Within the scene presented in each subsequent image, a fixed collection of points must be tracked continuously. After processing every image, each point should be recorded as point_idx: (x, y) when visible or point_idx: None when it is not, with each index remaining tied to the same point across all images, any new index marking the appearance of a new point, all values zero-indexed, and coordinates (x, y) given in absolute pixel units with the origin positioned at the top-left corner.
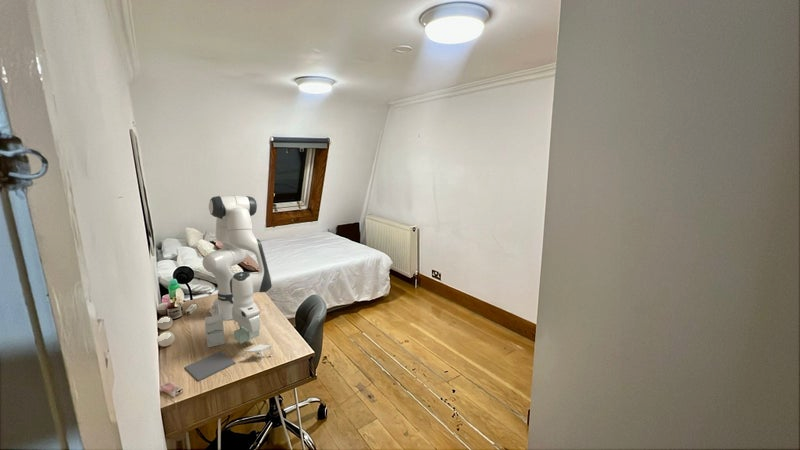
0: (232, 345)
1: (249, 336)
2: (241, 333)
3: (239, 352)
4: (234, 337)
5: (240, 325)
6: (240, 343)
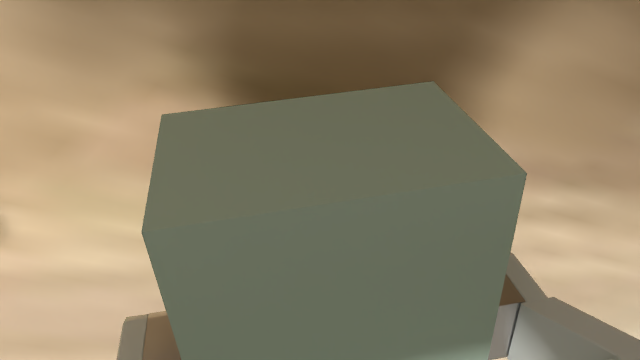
0: (450, 12)
1: (122, 340)
2: (243, 288)
3: (160, 22)
4: (436, 97)
5: (578, 353)
6: (161, 116)
